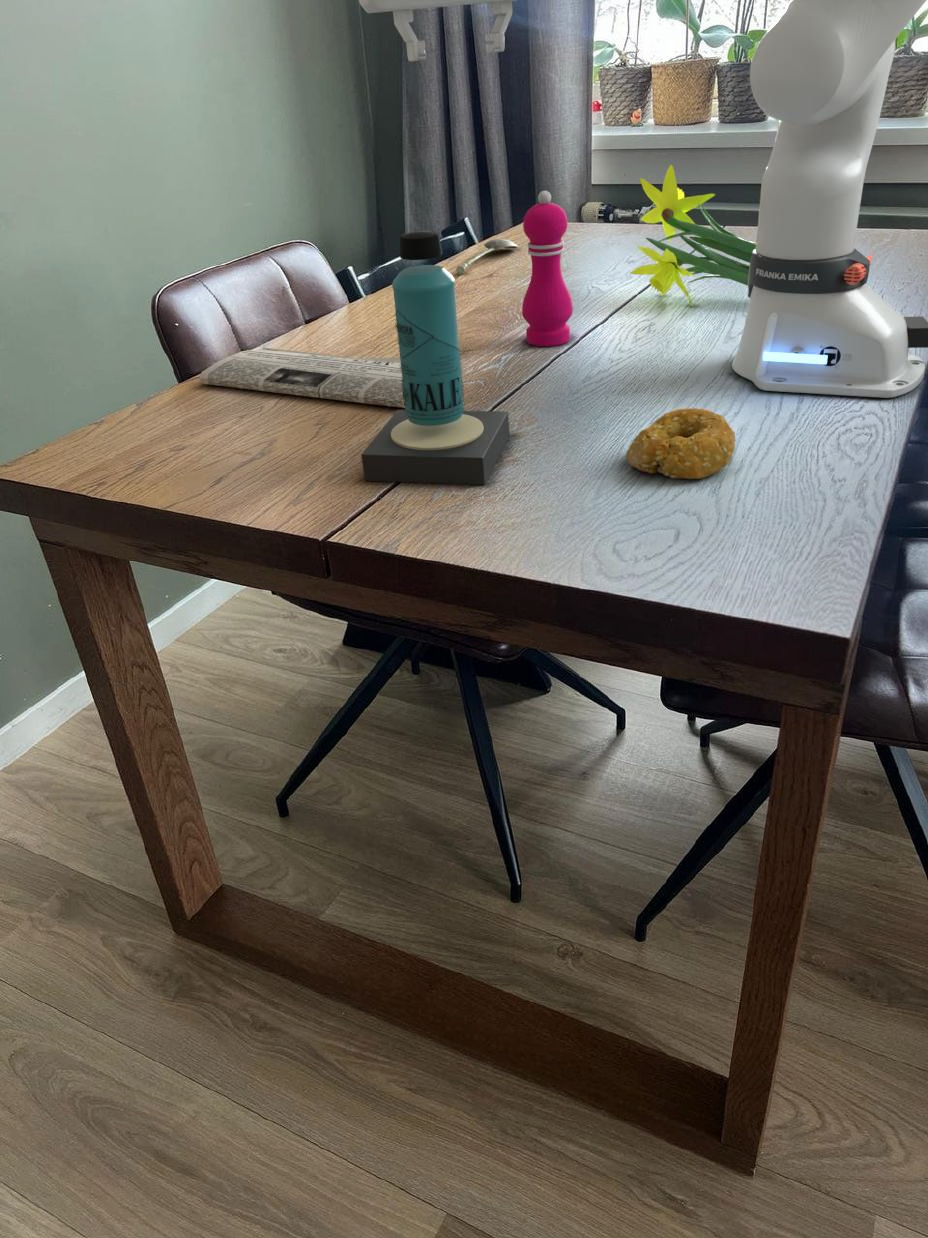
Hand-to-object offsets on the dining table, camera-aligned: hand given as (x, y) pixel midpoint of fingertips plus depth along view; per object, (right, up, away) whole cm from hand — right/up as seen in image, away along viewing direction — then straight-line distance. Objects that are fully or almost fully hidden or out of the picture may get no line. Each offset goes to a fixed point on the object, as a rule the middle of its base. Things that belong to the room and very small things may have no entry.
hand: (456, 56), depth 103 cm
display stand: (-2, -44, +1) cm, 44 cm away
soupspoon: (+5, +8, +80) cm, 81 cm away
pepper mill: (+13, -21, +34) cm, 42 cm away
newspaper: (-17, -30, +25) cm, 42 cm away
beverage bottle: (-2, -41, -1) cm, 41 cm away
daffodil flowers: (+43, -12, +45) cm, 63 cm away
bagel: (+23, -45, -5) cm, 51 cm away
